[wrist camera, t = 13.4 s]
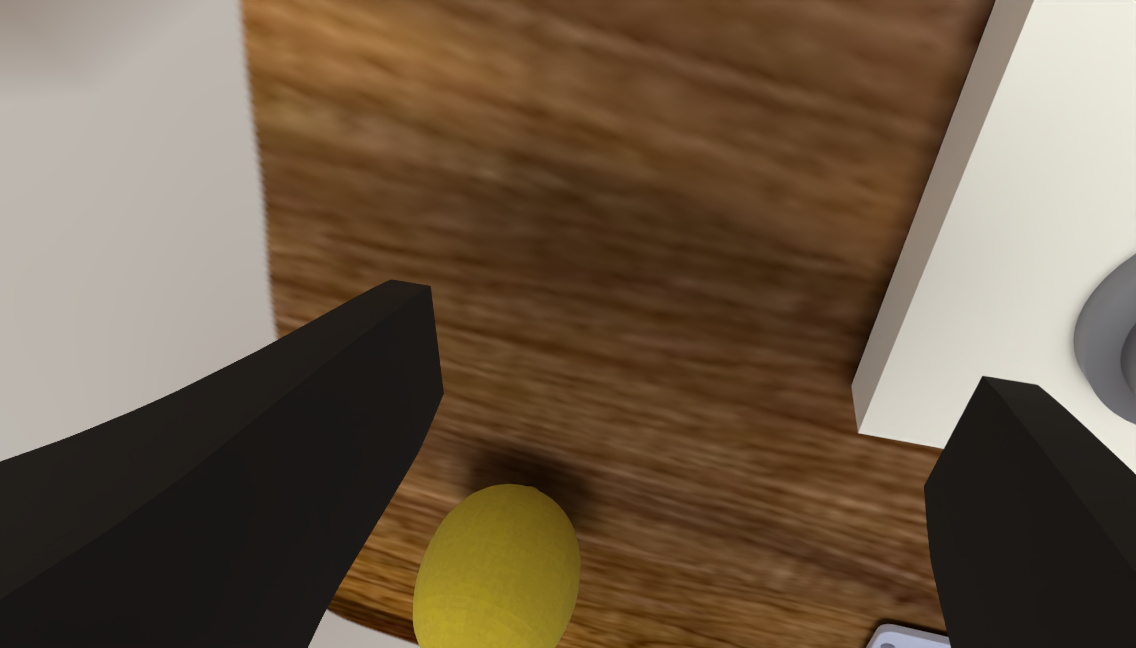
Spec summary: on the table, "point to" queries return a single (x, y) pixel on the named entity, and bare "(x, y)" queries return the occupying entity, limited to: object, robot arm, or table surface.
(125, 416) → the robot arm
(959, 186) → the notched board
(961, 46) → the table surface
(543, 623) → the lemon
